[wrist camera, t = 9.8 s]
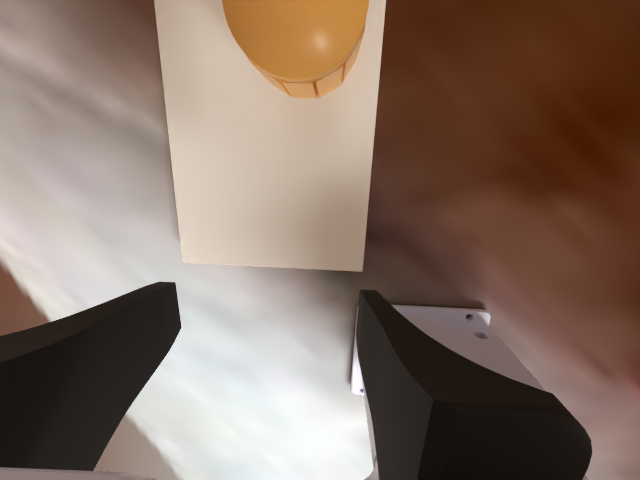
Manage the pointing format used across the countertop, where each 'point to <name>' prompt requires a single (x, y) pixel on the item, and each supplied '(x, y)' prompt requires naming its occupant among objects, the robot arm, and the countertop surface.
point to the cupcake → (299, 40)
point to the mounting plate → (265, 149)
